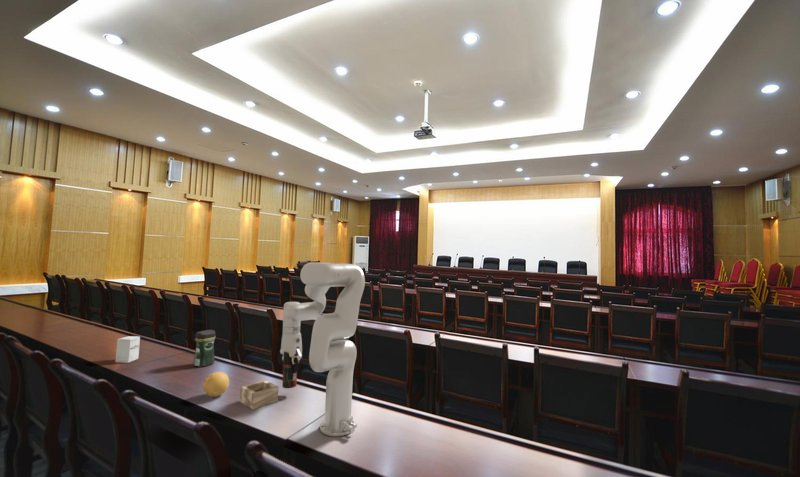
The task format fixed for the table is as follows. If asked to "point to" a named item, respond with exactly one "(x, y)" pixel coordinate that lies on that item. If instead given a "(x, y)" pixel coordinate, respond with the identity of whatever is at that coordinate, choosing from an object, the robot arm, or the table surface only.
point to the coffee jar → (204, 348)
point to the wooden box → (259, 394)
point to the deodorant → (288, 372)
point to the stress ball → (216, 384)
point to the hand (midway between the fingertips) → (290, 370)
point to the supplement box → (127, 349)
